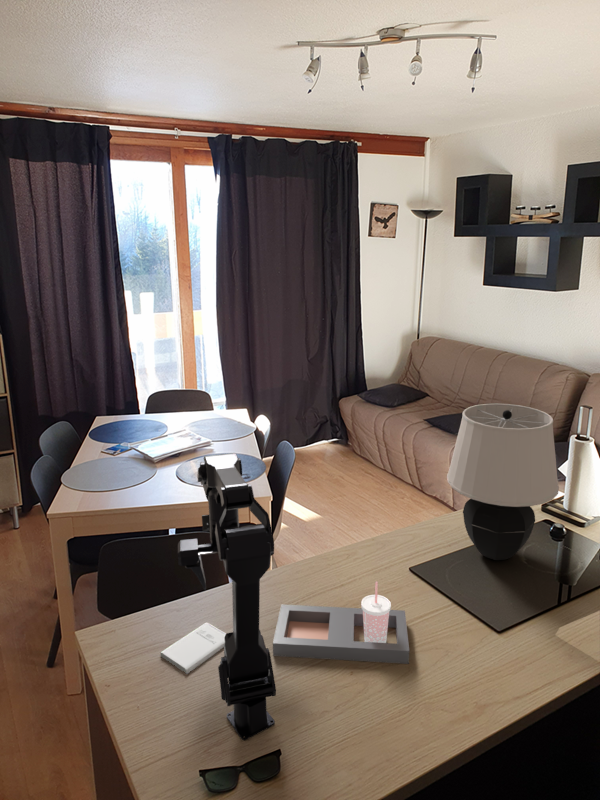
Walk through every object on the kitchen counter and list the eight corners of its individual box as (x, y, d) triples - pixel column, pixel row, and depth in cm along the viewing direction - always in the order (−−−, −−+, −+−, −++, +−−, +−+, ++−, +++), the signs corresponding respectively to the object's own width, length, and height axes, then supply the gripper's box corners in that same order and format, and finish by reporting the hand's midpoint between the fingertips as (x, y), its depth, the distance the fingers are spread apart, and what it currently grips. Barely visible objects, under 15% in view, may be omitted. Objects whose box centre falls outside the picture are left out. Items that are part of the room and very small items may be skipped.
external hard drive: (160, 658, 121) (206, 627, 130) (187, 676, 116) (232, 642, 125) (160, 651, 120) (206, 621, 129) (186, 669, 115) (232, 636, 124)
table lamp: (496, 522, 173) (507, 390, 162) (574, 566, 150) (593, 416, 139) (421, 544, 162) (428, 404, 151) (493, 596, 138) (507, 434, 127)
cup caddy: (404, 622, 130) (404, 610, 129) (408, 663, 117) (409, 651, 116) (281, 615, 132) (281, 604, 132) (273, 655, 120) (272, 643, 119)
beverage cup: (395, 643, 123) (397, 584, 119) (372, 654, 120) (373, 594, 116) (377, 627, 128) (379, 570, 124) (354, 637, 125) (355, 579, 121)
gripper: (265, 494, 126) (267, 560, 130) (175, 502, 122) (181, 570, 126) (273, 517, 115) (275, 588, 119) (175, 527, 112) (181, 600, 116)
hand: (227, 585), depth 120 cm, fingers open, 9 cm apart
